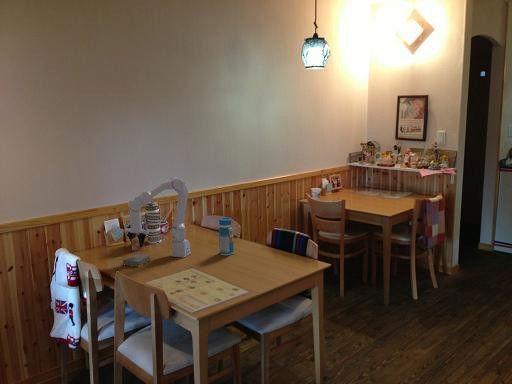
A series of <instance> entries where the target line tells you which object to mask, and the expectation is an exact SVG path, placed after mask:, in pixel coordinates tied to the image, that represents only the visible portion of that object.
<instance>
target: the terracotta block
mask: <svg viewBox="0 0 512 384" xmlns="http://www.w3.org/2000/svg"><path fill="white" fill-rule="evenodd" d="M131 241H132V244H131V250H132V251H136V252H140V251H142V250H144V249H145V244H144V245H143V247H140V245H139V239H138V237H136V238H134V239H131ZM131 241H130V242H131Z"/></svg>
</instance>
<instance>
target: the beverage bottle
mask: <svg viewBox="0 0 512 384" xmlns="http://www.w3.org/2000/svg"><path fill="white" fill-rule="evenodd" d="M218 223H219V228H218V243H219V254H220V255H222V256H231V255H233V254H234V253H235V245H234V244H235V243H234V236H235V235H234V228H233V227H232V218H231V217H221V218H219V219H218Z"/></svg>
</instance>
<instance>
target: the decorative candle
mask: <svg viewBox="0 0 512 384" xmlns="http://www.w3.org/2000/svg"><path fill="white" fill-rule="evenodd" d="M144 207H145V214H144V216H145V223H146V227H147V228H146V230H149V234H147V235H146V238H147V243H148V242H149V243H148V244H158V243H157V242H159V243H162V238H163V237H162V235H161V234H162V230H161V221H160V220H161V215H160V214H161V212H160V211H161V210H160V209H159V203H157V201H150V202H149V203H147V204H145V205H144Z"/></svg>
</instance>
